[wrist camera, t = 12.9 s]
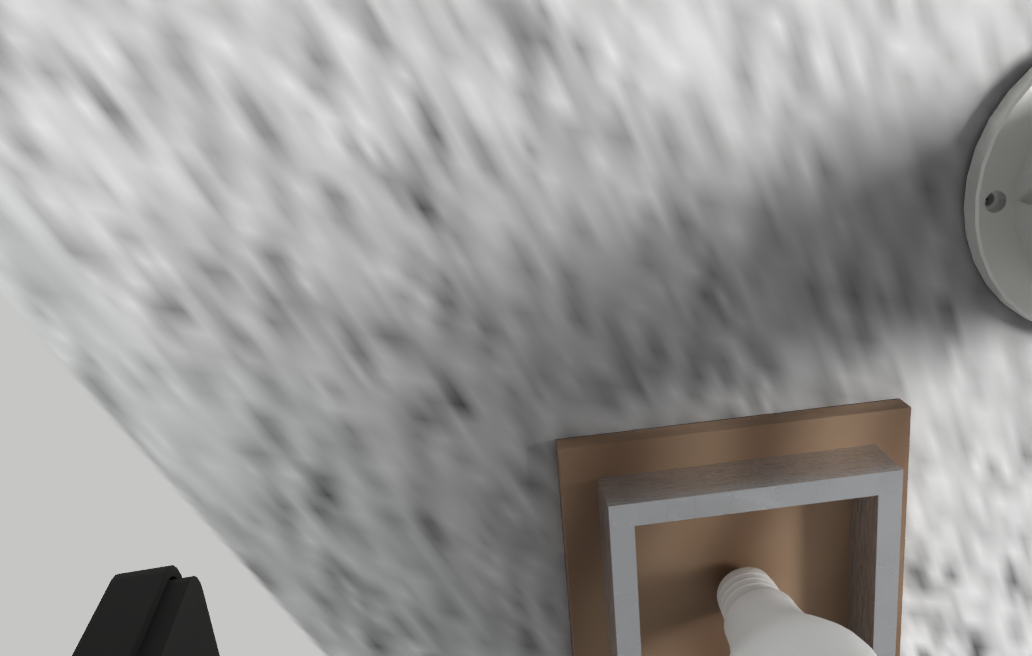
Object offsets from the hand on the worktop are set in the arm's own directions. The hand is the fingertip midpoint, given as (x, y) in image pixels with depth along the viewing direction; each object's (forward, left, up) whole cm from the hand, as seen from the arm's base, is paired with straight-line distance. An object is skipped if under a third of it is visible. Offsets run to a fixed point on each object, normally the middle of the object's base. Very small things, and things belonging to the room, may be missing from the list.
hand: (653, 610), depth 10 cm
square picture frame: (-10, +19, -27) cm, 34 cm away
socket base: (-10, +19, -28) cm, 35 cm away
